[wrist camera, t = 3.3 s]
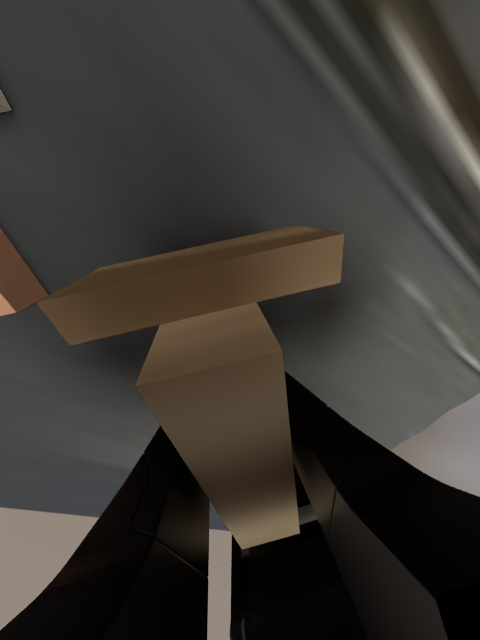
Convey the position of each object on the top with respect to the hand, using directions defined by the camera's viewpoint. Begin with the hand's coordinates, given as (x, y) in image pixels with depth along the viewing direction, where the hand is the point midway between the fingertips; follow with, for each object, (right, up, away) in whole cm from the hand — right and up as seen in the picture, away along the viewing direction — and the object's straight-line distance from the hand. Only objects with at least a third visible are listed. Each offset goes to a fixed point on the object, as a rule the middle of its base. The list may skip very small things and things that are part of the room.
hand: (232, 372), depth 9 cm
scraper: (0, 0, +1) cm, 1 cm away
